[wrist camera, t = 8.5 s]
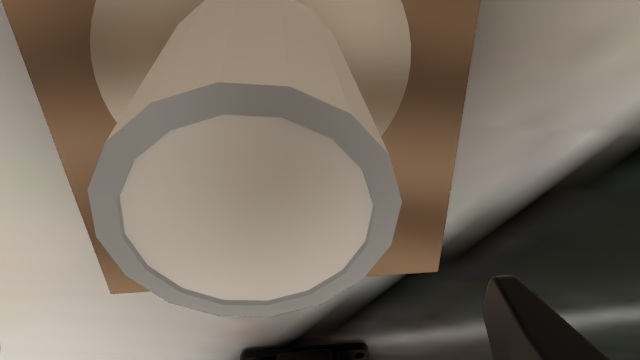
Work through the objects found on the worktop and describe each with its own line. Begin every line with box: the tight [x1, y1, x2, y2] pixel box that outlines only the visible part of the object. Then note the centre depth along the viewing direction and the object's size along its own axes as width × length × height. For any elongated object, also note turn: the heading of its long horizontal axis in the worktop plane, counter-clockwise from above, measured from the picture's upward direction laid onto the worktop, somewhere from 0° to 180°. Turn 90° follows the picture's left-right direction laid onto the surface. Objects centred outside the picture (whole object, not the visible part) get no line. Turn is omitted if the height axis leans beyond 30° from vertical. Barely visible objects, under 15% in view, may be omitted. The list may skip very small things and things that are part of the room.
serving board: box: [1, 0, 480, 294], centre depth 18 cm, size 20×14×1 cm
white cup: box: [87, 0, 402, 317], centre depth 15 cm, size 7×7×7 cm
